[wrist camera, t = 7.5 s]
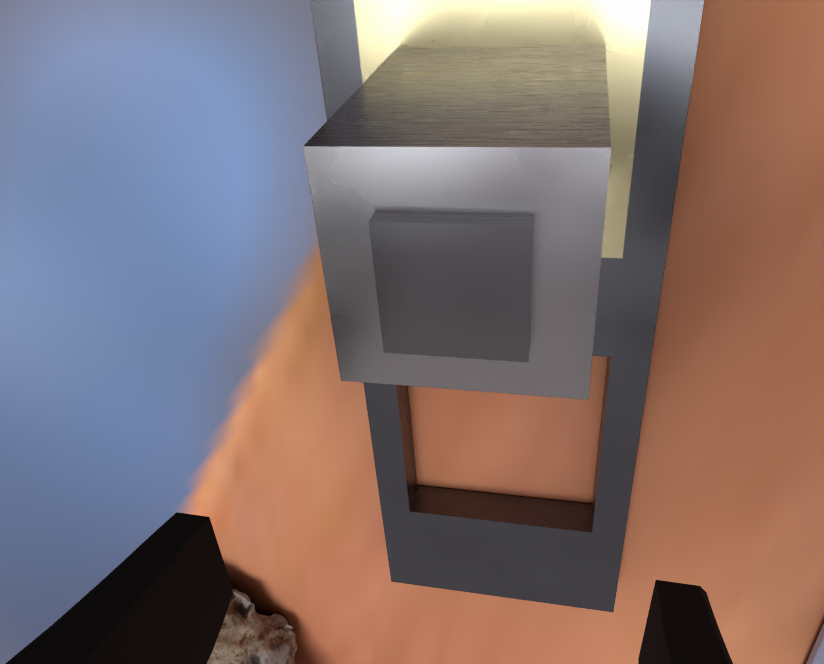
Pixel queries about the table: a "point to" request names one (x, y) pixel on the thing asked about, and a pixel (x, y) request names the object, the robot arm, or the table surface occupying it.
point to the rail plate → (616, 305)
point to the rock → (252, 636)
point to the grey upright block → (467, 218)
